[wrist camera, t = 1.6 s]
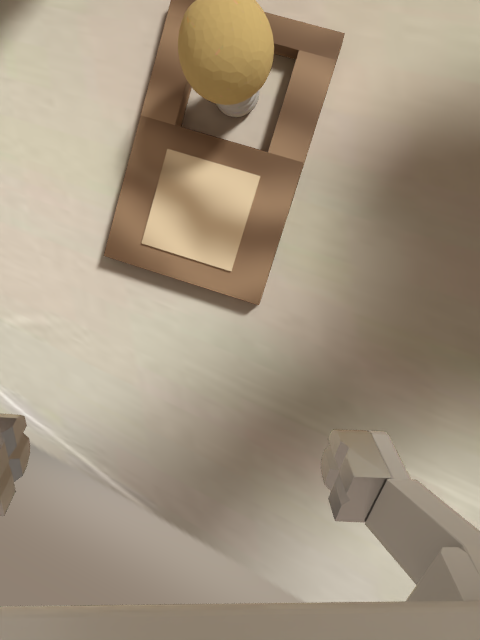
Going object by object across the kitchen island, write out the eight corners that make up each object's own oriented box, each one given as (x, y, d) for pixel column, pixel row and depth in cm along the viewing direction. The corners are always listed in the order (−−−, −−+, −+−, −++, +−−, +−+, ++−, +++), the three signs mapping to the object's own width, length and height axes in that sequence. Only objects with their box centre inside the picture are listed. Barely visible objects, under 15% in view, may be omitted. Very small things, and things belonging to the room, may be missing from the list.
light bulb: (269, 48, 33) (263, -50, 23) (281, 127, 34) (280, 64, 24) (193, 66, 34) (157, -21, 24) (207, 143, 35) (176, 89, 25)
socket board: (178, 0, 34) (173, -14, 32) (341, 44, 33) (345, 31, 31) (110, 256, 36) (102, 255, 35) (259, 304, 36) (258, 305, 34)
